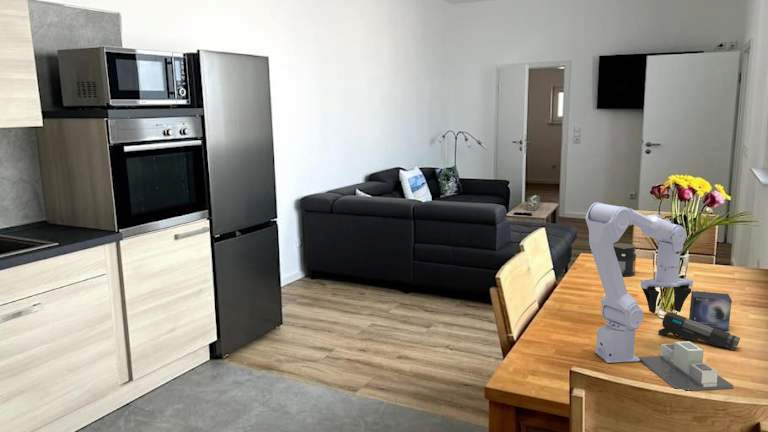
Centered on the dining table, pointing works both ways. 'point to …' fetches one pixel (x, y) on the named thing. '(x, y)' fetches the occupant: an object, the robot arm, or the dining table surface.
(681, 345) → the block
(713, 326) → the small box
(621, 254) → the supplement container
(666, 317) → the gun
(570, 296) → the dining table surface
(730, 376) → the dining table surface
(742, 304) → the dining table surface
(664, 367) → the panel
